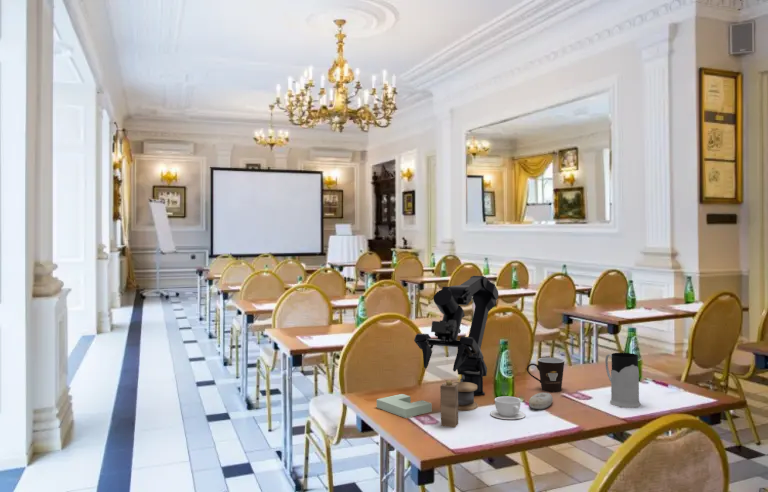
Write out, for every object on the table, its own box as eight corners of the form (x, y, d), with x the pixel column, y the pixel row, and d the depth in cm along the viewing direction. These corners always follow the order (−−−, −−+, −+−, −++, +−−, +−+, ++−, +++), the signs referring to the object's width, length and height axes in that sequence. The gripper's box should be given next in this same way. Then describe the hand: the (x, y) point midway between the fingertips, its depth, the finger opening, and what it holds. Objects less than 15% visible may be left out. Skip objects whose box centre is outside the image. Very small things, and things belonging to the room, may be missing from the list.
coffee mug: (567, 388, 198) (567, 359, 198) (560, 394, 191) (560, 363, 191) (534, 384, 205) (533, 355, 204) (525, 390, 197) (525, 360, 197)
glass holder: (620, 408, 174) (620, 358, 174) (594, 396, 188) (593, 349, 188) (647, 406, 176) (646, 356, 176) (618, 394, 190) (618, 348, 190)
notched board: (402, 401, 185) (402, 393, 185) (431, 411, 174) (431, 403, 174) (376, 407, 179) (376, 399, 179) (405, 418, 168) (405, 409, 168)
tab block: (444, 421, 164) (443, 379, 164) (458, 423, 163) (457, 379, 163) (440, 426, 160) (440, 382, 160) (455, 427, 159) (454, 383, 159)
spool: (471, 401, 184) (471, 381, 184) (481, 409, 175) (481, 388, 175) (444, 403, 182) (444, 382, 182) (452, 411, 174) (452, 389, 173)
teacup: (483, 413, 172) (483, 397, 172) (511, 409, 176) (511, 393, 176) (503, 422, 163) (503, 406, 163) (532, 418, 167) (532, 401, 167)
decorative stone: (557, 400, 185) (557, 389, 184) (545, 413, 171) (545, 401, 171) (538, 398, 188) (538, 387, 188) (524, 410, 174) (524, 399, 174)
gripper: (414, 307, 178) (400, 354, 170) (472, 310, 169) (460, 359, 161) (427, 325, 186) (414, 371, 177) (483, 329, 176) (472, 377, 168)
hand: (439, 369), depth 171 cm, fingers open, 9 cm apart
